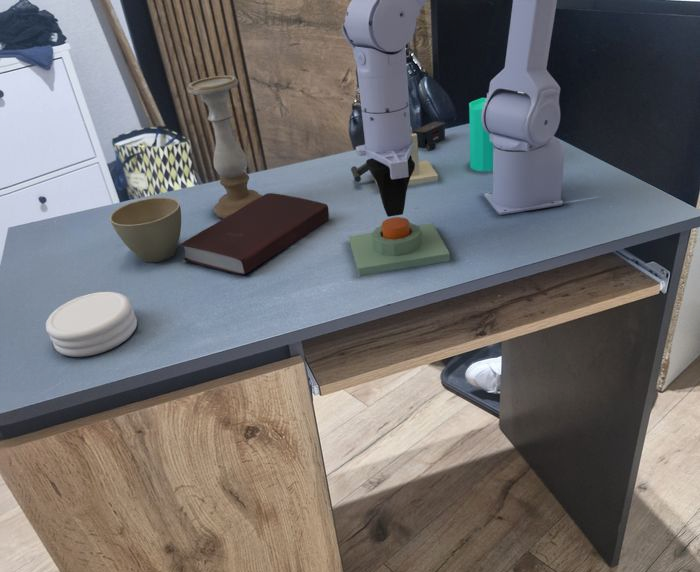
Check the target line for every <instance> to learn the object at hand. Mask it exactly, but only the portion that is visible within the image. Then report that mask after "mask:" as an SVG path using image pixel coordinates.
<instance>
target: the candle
mask: <svg viewBox="0 0 700 572" xmlns="http://www.w3.org/2000/svg"><path fill="white" fill-rule="evenodd" d="M488 93H489V92H487V93H486V97H480V98H477V99H475V100H473V101H471V102H469V103H468V108H469V109H468V110H469V111H468V113H469V114H468V116H469V168H470V169H471V170H474V171H478V172H493V142H490V134H489V133H487V132H486V131H485V130H484V128H483V125H482V121H481V114H482V108H483V105H484V103H485V101H486V99H487V96H488Z"/></svg>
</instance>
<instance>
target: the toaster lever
mask: <svg viewBox="0 0 700 572" xmlns="http://www.w3.org/2000/svg"><path fill="white" fill-rule="evenodd" d="M350 171H351V174H352V177H353V181H354V182H355V183H359V182H361V181H362V177H361V176H362V175H364V174H365V173H367V172H369V171H370V170H369V168H368V166H367V163H366V162H365V163H364V164H362V165H360V166H359V167H357V166H356V165H355V166H352V167H351V168H350Z"/></svg>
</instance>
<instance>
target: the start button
mask: <svg viewBox="0 0 700 572" xmlns="http://www.w3.org/2000/svg"><path fill="white" fill-rule="evenodd" d="M409 223H410V220H409V219H407V218H406V217H401V216H393V217H390V218H389V217H388V218H386V219H385V220H383V221H382V223H381V226H382V231H383V237H384V238H386V239H401V238H404V237H407V236H409V235H410V228H409Z"/></svg>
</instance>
